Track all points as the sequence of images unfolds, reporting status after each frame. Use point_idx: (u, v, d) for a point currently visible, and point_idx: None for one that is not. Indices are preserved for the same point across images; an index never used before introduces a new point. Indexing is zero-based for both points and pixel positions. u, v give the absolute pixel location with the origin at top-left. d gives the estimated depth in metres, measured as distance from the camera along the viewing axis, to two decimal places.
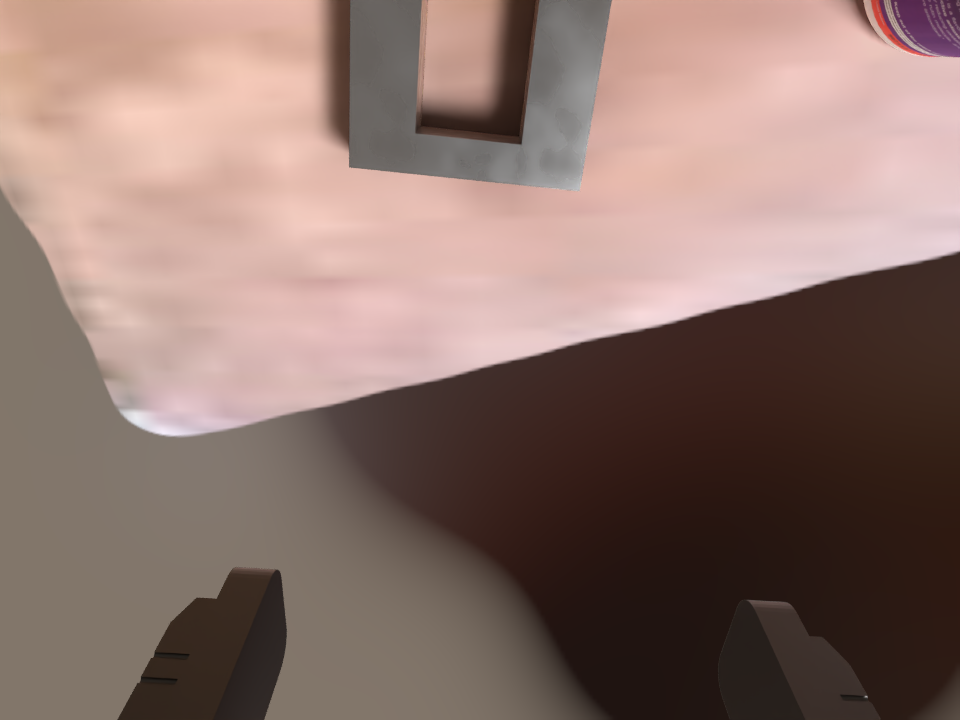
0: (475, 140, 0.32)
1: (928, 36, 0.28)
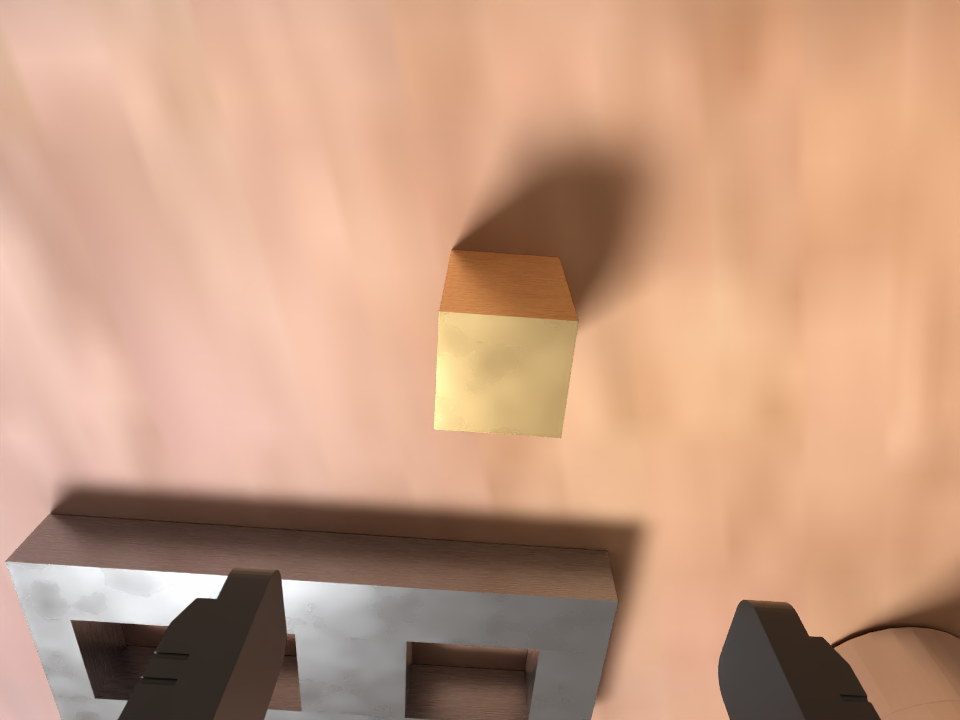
0: (84, 665, 0.30)
1: None
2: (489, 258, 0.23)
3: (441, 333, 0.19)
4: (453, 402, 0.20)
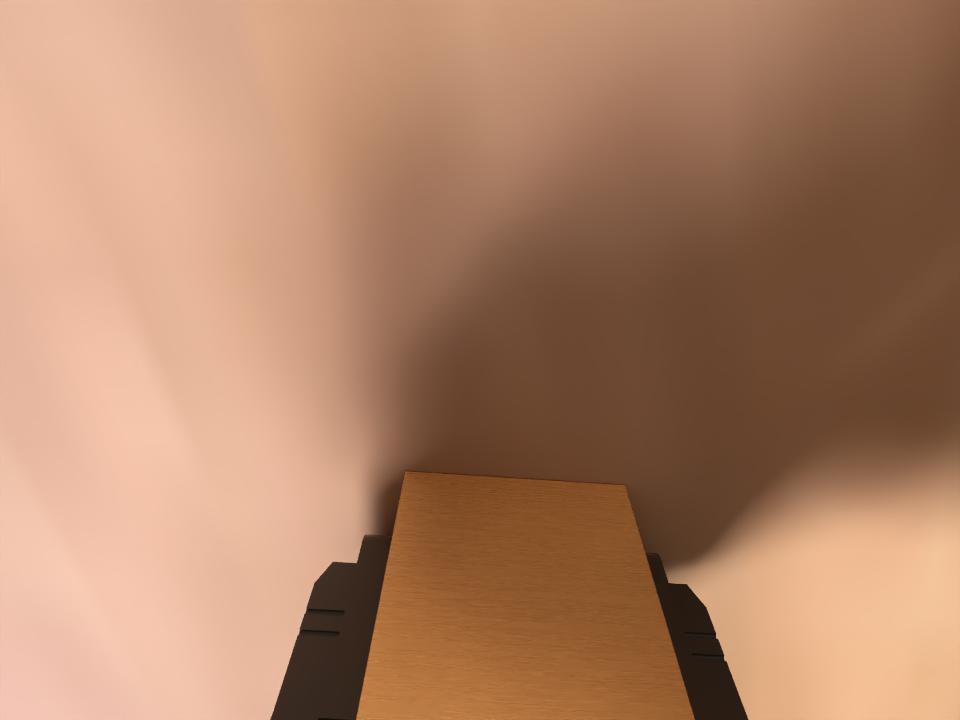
0: None
1: None
2: (482, 501, 0.11)
3: None
4: None
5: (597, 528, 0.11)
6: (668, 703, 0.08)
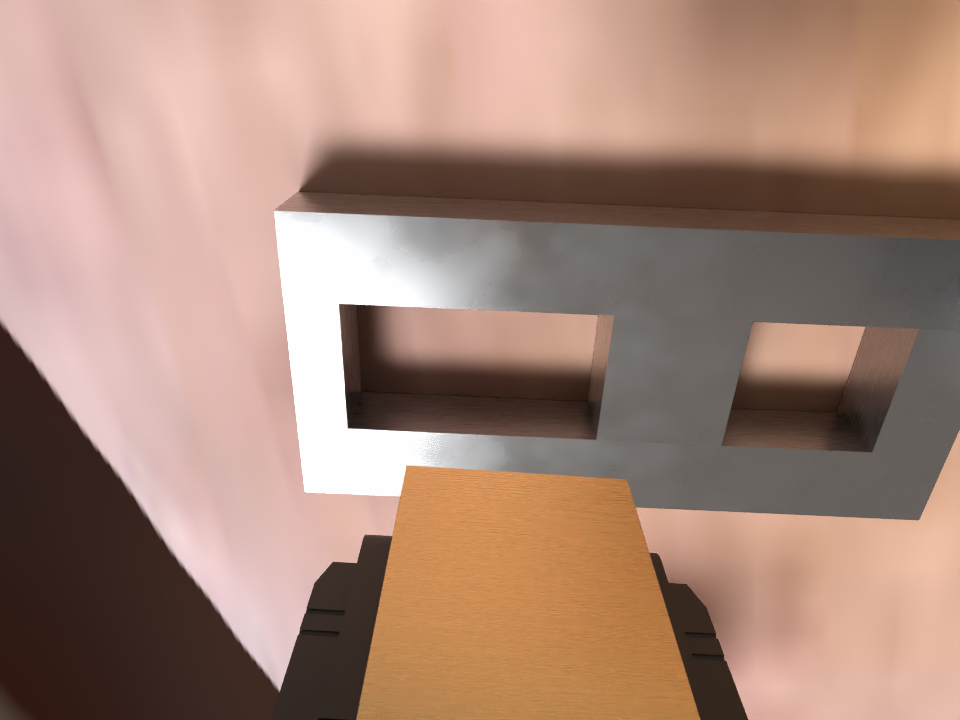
0: (342, 376, 0.25)
1: None
2: (484, 495, 0.11)
3: None
4: None
5: (599, 522, 0.10)
6: (671, 695, 0.08)
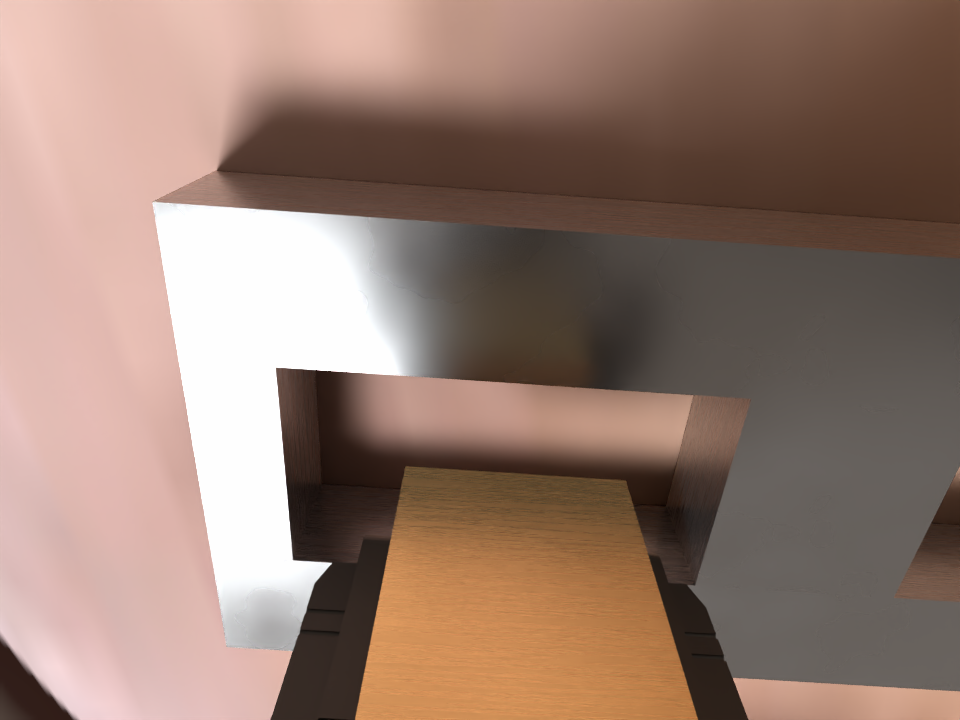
0: (284, 483, 0.15)
1: None
2: (483, 496, 0.11)
3: None
4: None
5: (598, 523, 0.10)
6: (669, 697, 0.08)
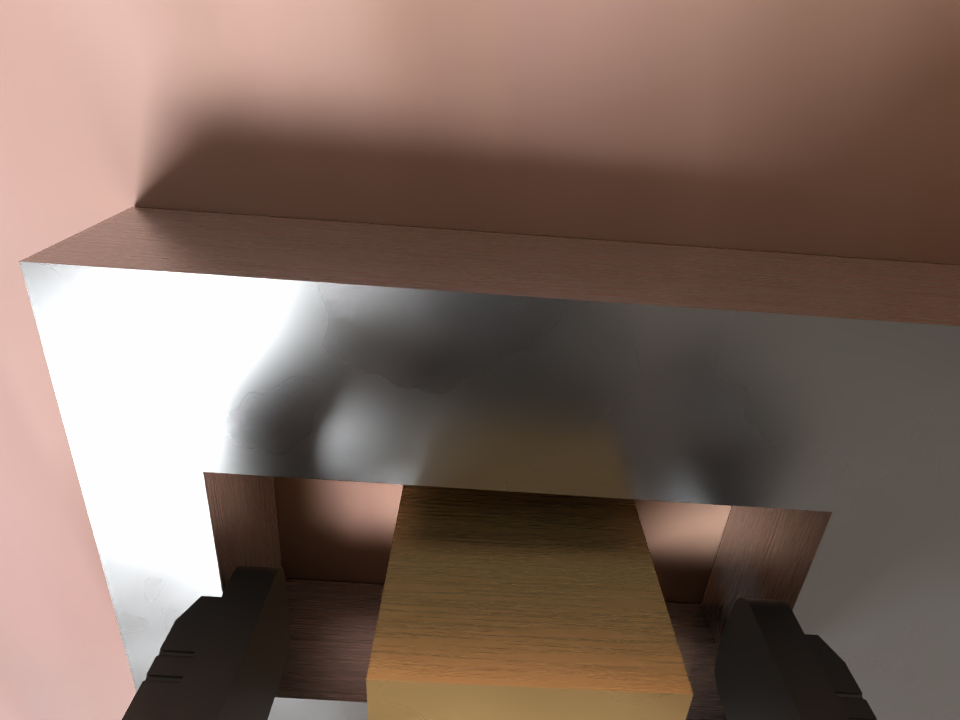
0: None
1: None
2: None
3: (375, 716, 0.08)
4: None
5: None
6: (641, 584, 0.09)
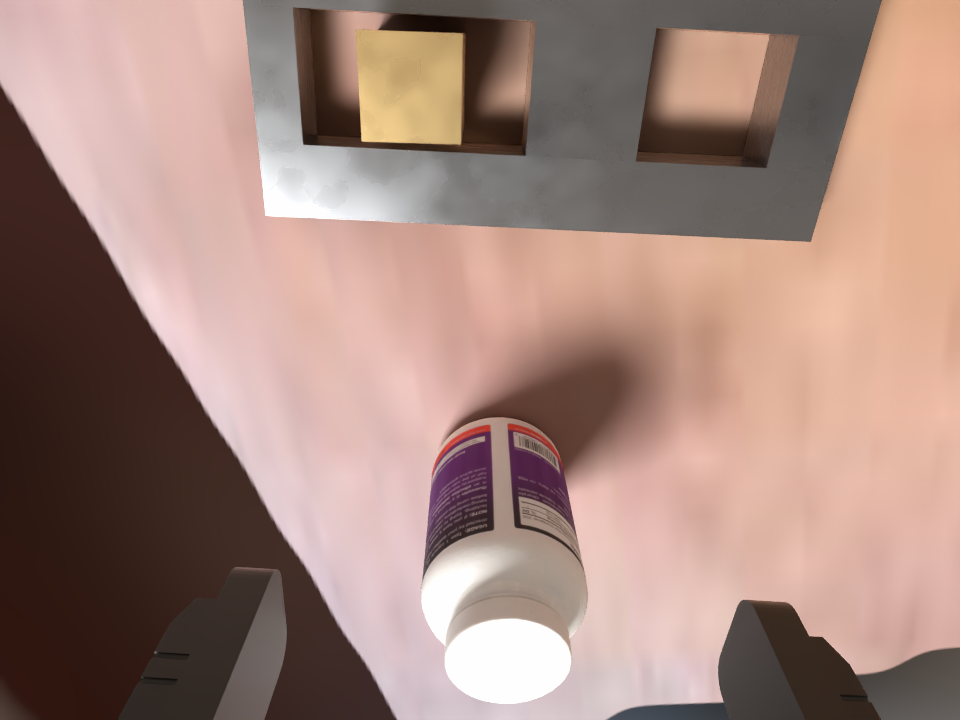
0: (298, 88, 0.28)
1: (440, 483, 0.35)
2: None
3: (359, 50, 0.24)
4: (374, 114, 0.25)
5: (449, 32, 0.28)
6: None
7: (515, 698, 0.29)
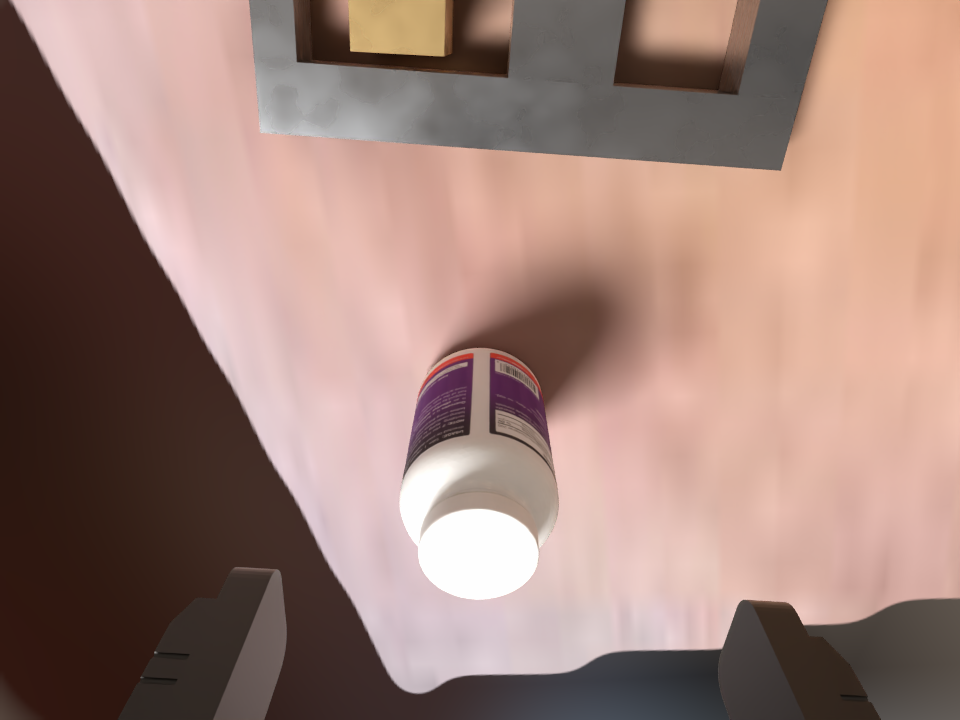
0: (292, 5, 0.29)
1: (423, 403, 0.36)
2: None
3: None
4: (362, 25, 0.27)
5: None
6: None
7: (485, 594, 0.30)
